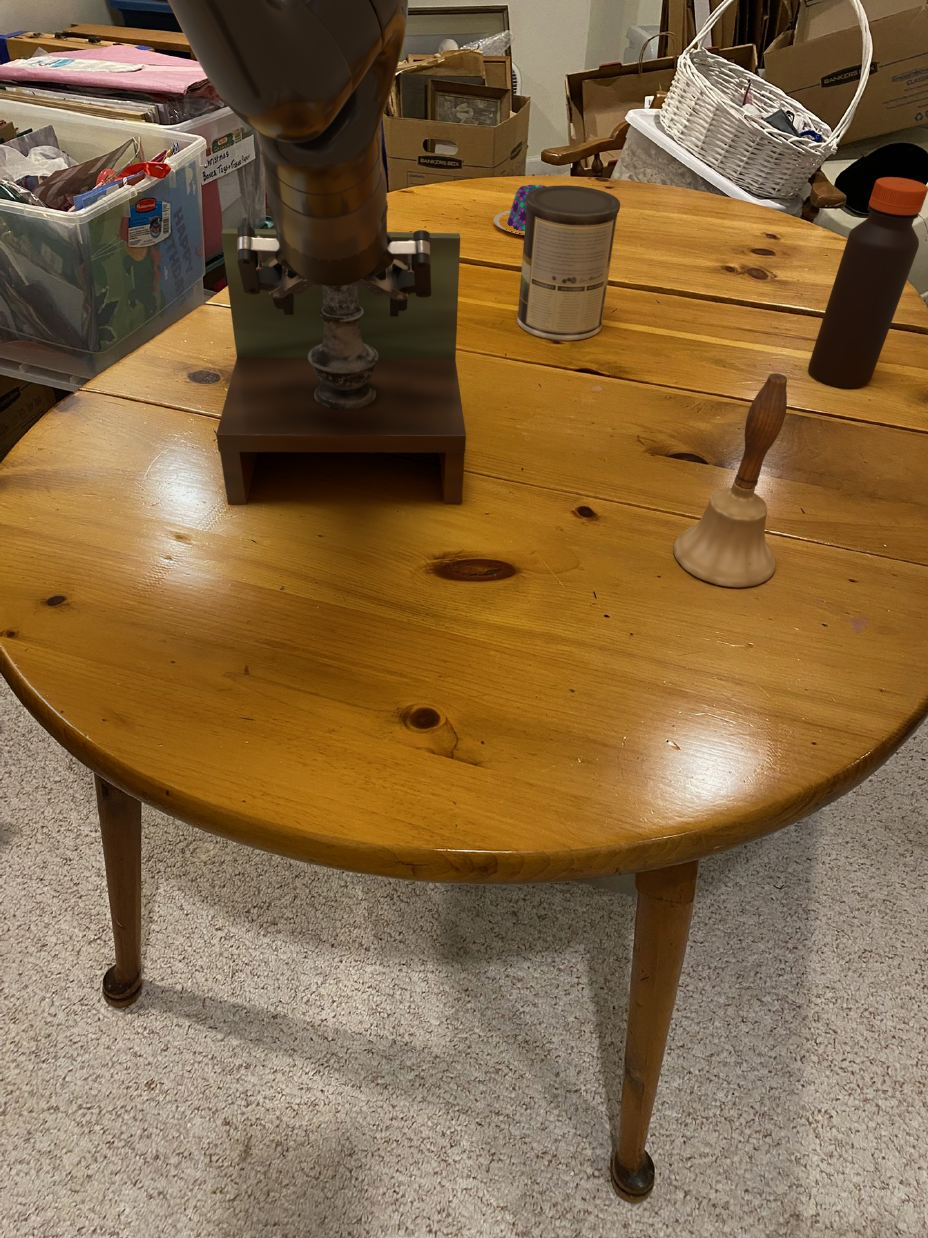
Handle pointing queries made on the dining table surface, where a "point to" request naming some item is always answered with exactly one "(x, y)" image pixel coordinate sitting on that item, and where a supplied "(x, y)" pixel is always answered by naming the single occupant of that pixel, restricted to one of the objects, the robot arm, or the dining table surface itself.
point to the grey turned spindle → (343, 353)
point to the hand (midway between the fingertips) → (341, 304)
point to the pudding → (517, 209)
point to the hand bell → (739, 507)
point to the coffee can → (566, 261)
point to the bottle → (868, 285)
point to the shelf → (285, 383)
